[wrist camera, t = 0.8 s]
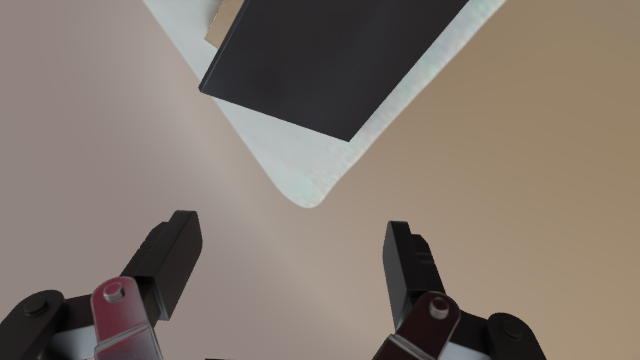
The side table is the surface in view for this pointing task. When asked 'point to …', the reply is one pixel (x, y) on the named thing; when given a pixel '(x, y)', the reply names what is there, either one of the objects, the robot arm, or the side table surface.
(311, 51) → the laptop lid
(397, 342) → the robot arm
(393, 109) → the side table surface
